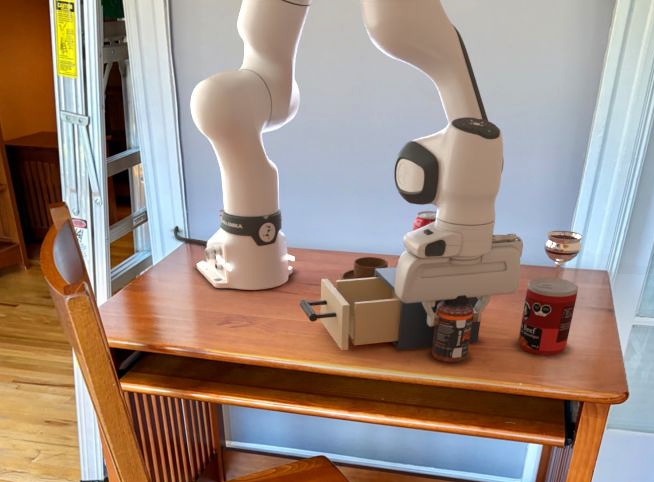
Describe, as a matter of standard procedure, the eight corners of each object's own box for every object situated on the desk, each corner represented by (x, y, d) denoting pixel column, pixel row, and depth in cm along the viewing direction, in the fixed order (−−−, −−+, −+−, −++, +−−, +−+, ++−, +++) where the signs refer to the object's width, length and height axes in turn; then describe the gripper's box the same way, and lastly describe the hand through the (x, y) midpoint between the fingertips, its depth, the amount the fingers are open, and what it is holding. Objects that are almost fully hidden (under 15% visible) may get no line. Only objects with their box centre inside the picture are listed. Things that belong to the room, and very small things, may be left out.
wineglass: (577, 296, 148) (590, 236, 141) (557, 304, 144) (569, 242, 138) (549, 287, 152) (560, 228, 146) (528, 294, 149) (539, 234, 142)
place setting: (364, 268, 162) (365, 241, 159) (449, 284, 154) (452, 256, 150) (324, 292, 149) (324, 263, 146) (414, 310, 141) (417, 280, 138)
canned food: (511, 338, 130) (521, 277, 124) (555, 337, 130) (568, 276, 124) (526, 356, 124) (537, 293, 117) (572, 355, 124) (585, 292, 118)
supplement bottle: (466, 365, 121) (475, 299, 114) (430, 362, 122) (436, 296, 115) (467, 351, 125) (476, 286, 119) (432, 348, 126) (439, 283, 120)
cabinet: (399, 350, 126) (403, 296, 120) (372, 319, 137) (374, 268, 132) (477, 342, 129) (485, 288, 123) (444, 312, 140) (450, 262, 135)
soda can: (447, 269, 162) (453, 213, 155) (433, 278, 157) (439, 220, 150) (418, 264, 165) (422, 208, 158) (403, 272, 160) (408, 215, 153)
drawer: (314, 352, 122) (314, 308, 118) (295, 323, 133) (295, 281, 129) (416, 342, 126) (420, 298, 122) (390, 314, 137) (393, 273, 133)
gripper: (515, 227, 117) (502, 310, 125) (394, 236, 113) (388, 321, 121) (534, 238, 112) (520, 324, 120) (408, 247, 108) (401, 336, 116)
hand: (453, 323), depth 120 cm, fingers closed on supplement bottle, 6 cm apart
